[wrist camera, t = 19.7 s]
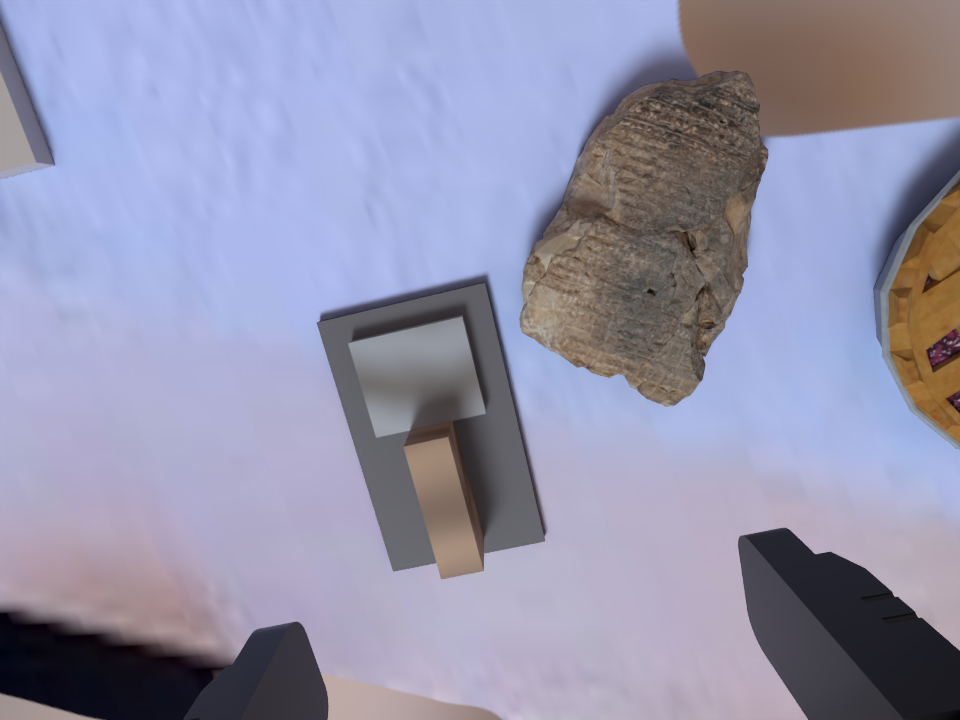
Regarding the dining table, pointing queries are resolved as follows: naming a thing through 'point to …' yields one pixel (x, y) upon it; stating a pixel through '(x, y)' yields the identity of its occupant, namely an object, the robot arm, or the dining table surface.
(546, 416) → the dining table surface
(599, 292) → the clay tablet
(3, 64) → the tile
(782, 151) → the dining table surface
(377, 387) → the turner
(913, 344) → the pie
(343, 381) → the mat
